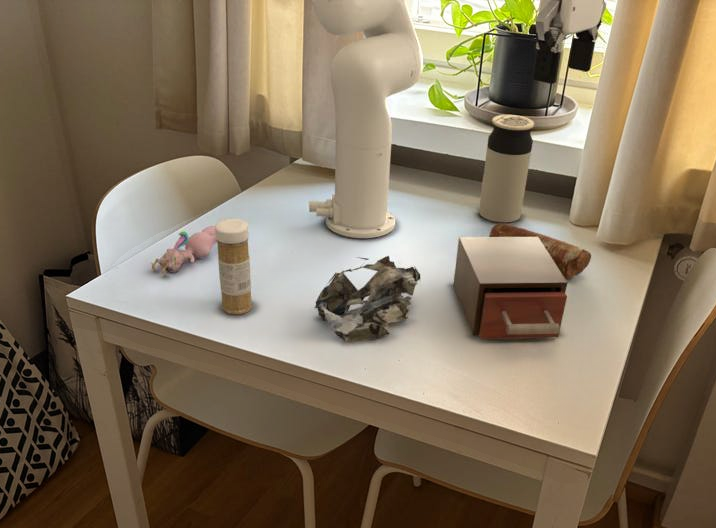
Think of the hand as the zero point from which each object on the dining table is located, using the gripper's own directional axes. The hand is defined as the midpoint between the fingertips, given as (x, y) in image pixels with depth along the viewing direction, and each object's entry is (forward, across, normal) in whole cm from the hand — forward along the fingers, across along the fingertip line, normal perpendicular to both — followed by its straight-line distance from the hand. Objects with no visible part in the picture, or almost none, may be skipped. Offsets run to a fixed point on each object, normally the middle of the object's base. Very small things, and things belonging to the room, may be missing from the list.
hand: (562, 75), depth 106 cm
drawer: (+32, +13, +5) cm, 35 cm away
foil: (+33, +27, -11) cm, 44 cm away
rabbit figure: (+32, +32, -44) cm, 63 cm away
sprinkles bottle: (+32, +38, -27) cm, 57 cm away
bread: (+33, -7, -4) cm, 34 cm away
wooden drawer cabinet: (+33, +10, +2) cm, 34 cm away
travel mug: (+32, -20, -18) cm, 42 cm away
